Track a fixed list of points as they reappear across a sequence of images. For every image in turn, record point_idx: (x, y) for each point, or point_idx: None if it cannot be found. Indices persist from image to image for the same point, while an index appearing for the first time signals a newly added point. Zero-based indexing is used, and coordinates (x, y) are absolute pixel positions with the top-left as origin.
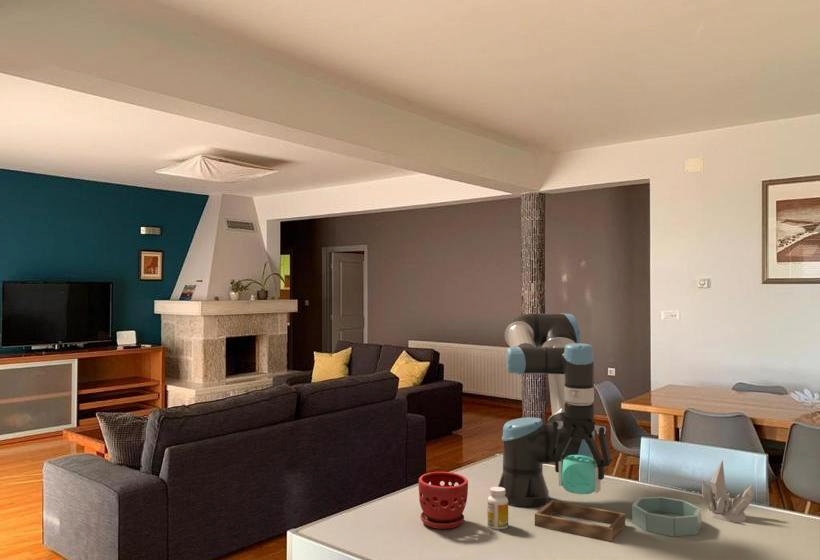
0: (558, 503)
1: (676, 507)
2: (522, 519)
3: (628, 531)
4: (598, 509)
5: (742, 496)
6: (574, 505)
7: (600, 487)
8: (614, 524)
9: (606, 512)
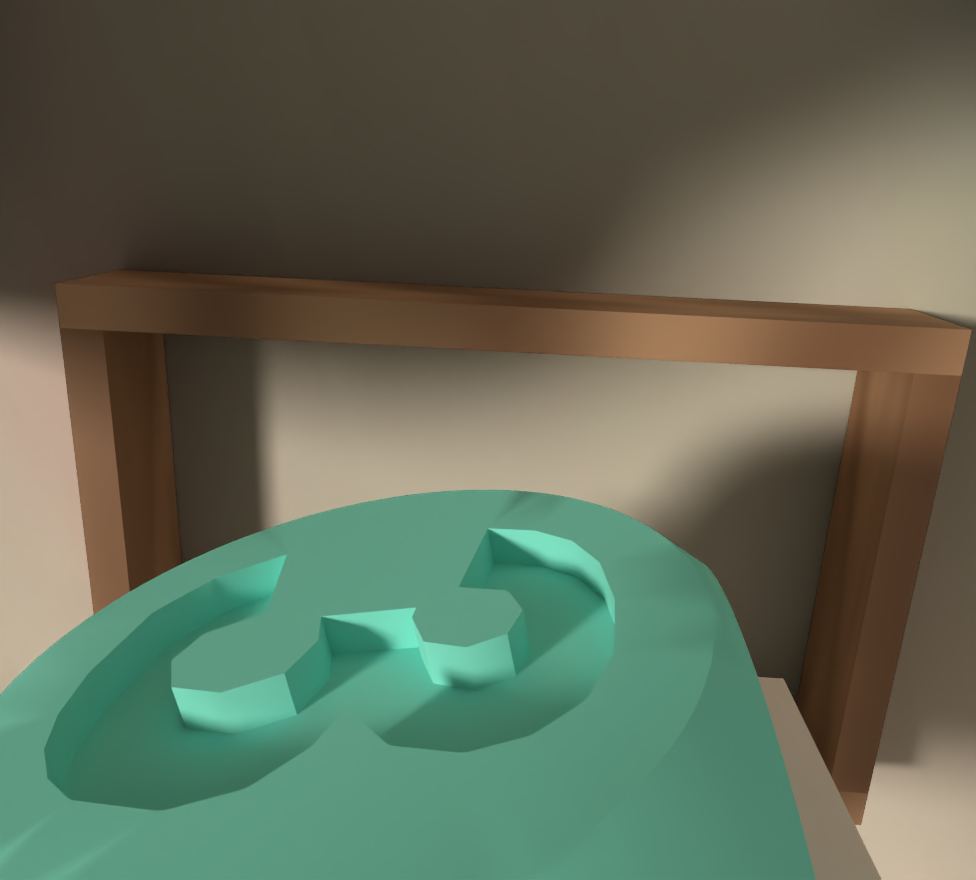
0: (161, 331)
1: None
2: (9, 617)
3: (947, 465)
4: (645, 343)
5: None
6: (353, 342)
7: (796, 710)
8: (874, 707)
9: (742, 362)
